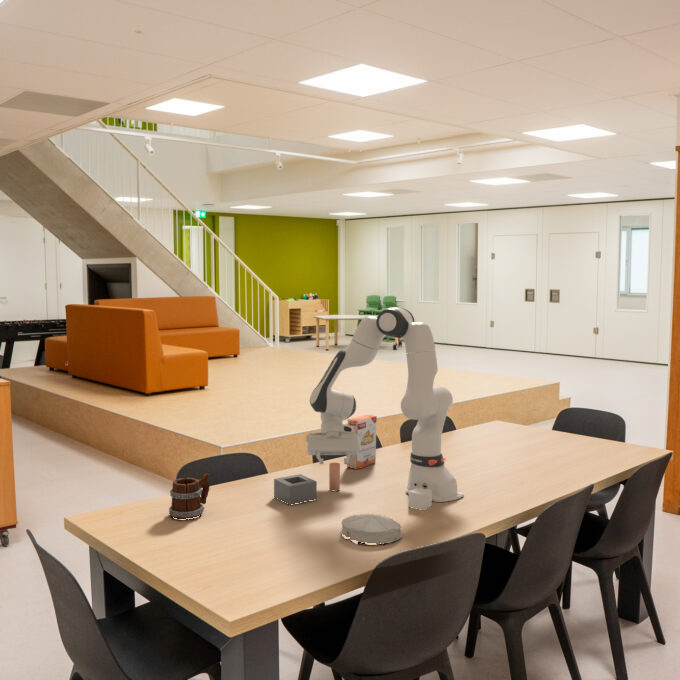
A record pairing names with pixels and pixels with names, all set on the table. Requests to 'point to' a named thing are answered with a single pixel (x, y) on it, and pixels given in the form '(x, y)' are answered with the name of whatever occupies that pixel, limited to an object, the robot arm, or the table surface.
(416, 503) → the white cube
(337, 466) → the peg
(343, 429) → the robot arm
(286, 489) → the socket box
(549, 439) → the table surface
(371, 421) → the cracker box
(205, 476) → the mug
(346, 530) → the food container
